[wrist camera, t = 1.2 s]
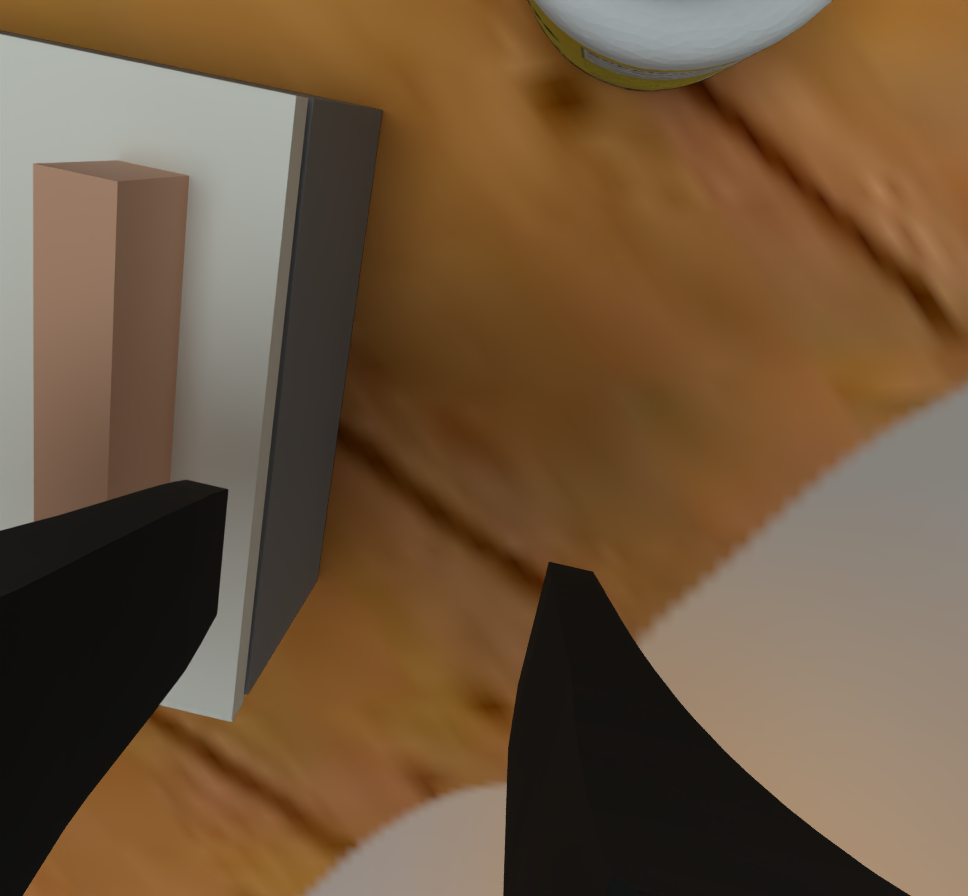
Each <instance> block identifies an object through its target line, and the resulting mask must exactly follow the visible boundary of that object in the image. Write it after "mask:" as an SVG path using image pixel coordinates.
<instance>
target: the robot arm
mask: <svg viewBox="0 0 968 896" xmlns="http://www.w3.org/2000/svg"><path fill="white" fill-rule="evenodd" d="M227 500H228V489H226V488H221V487H217V486H212V485H208V484H204V483H199V482H195V481H190V480H181V481H175V482H170V483H166V484H162V485H158V486H155V487H151V488H147V489H144V490H141V491H137V492H134V493H131V494H127V495H124V496H121V497H117V498H114V499H111V500H108V501H104V502H101V503H98V504H94V505H91V506H88V507H84V508H81V509H78V510H74V511H71V512H68V513H65V514H61V515H58V516H54V517H50V518H46V519H42V520H39V521H35V522H31V523H27V524H23V525H20V526H16V527H12V528H8V529H4V530H1V531H0V896H23V894H24V893H25V891H26V889H27V888H28V886H29V885H30V883H31V881H32V880H33V878H34V877H35V875H36V873H37V872H38V870H39V869H40V867H41V865H42V864H43V862H44V861H45V859H46V857H47V856H48V854H49V853H50V851H51V850H52V848H53V846H54V845H55V843H56V842H57V840H58V838H59V837H60V835H61V834H62V832H63V830H64V829H65V827H66V826H67V825H68V823H69V822H70V821H71V819H72V818H73V816H74V815H75V814H76V812H77V811H78V809H79V808H80V807H81V805H82V804H83V802H84V801H85V800H86V798H87V797H88V796H89V794H90V793H91V792H92V790H93V789H94V788H95V787H96V785H97V784H98V783H99V782H100V780H101V779H102V778H103V776H104V775H105V774H106V773H107V771H108V770H109V769H110V767H111V766H112V765H113V764H114V762H115V761H116V760H117V759H118V757H119V756H120V755H121V753H122V752H123V751H124V750H125V748H126V747H127V746H128V744H129V743H130V742H131V741H132V739H133V738H134V737H135V736H136V734H137V733H138V732H139V730H140V729H141V728H142V727H143V725H144V724H145V723H146V722H147V720H148V719H149V718H150V716H151V715H152V714H153V713H154V711H155V710H156V709H157V707H158V706H159V705H160V703H161V702H162V701H163V700H164V698H165V697H166V696H167V694H168V693H169V692H170V690H171V689H172V688H173V687H174V685H175V684H176V683H177V681H178V680H179V679H180V677H181V676H182V675H183V673H184V672H185V670H186V669H187V667H188V665H189V663H190V662H191V660H192V658H193V657H194V655H195V653H196V652H197V650H198V648H199V647H200V645H201V643H202V641H203V639H204V638H205V636H206V634H207V632H208V630H209V628H210V627H211V625H212V623H213V621H214V619H215V618H216V616H217V611H218V600H219V588H220V577H221V566H222V555H223V544H224V533H225V522H226V511H227ZM503 895H504V896H910V895H908V894H907V893H905V892H904V891H902V890H900V889H899V888H897V887H896V886H894V885H893V884H891V883H889V882H888V881H886V880H885V879H883V878H881V877H880V876H878V875H877V874H875V873H874V872H872V871H871V870H870V869H868V868H867V867H865V866H864V865H862V864H861V863H860V862H858V861H857V860H856V859H854V858H853V857H851V856H850V855H849V854H847V853H846V852H845V851H843V850H842V849H841V848H839V847H838V846H837V845H835V844H834V843H832V842H831V841H830V840H828V839H827V838H825V837H824V836H823V835H821V834H820V833H819V832H817V831H816V830H815V829H814V828H812V827H811V826H810V825H809V824H807V823H806V822H805V821H803V820H802V819H801V818H800V817H799V816H797V815H796V814H794V813H793V812H792V811H791V810H790V809H788V808H787V807H786V806H785V805H784V804H782V803H781V802H780V801H779V800H778V799H777V798H776V797H774V796H773V795H772V794H771V793H770V792H769V791H768V790H767V789H765V788H764V787H763V786H762V785H761V784H760V783H759V782H757V781H756V780H755V779H754V778H753V777H752V776H751V775H749V774H748V773H747V772H746V771H745V770H744V769H743V768H742V767H741V766H740V765H739V764H738V763H737V762H735V760H733V759H732V758H731V757H730V756H729V755H728V754H727V753H726V752H725V751H724V750H723V749H722V748H721V747H720V746H719V745H718V744H717V742H716V741H715V740H714V739H713V738H712V737H711V736H710V735H709V734H708V733H707V732H706V731H705V730H704V729H703V728H702V727H701V725H700V724H699V723H698V722H697V721H696V720H695V719H694V718H693V717H692V716H691V715H690V713H689V712H688V711H687V710H686V709H685V708H684V706H683V705H682V704H681V703H680V702H679V701H678V699H677V698H676V697H675V695H674V694H673V693H672V692H671V690H670V689H669V688H668V686H667V685H666V684H665V683H664V682H663V680H662V679H661V678H660V676H659V675H658V674H657V672H656V671H655V670H654V668H653V667H652V666H651V664H650V663H649V661H648V660H647V659H646V657H645V656H644V654H643V653H642V651H641V650H640V648H639V647H638V645H637V644H636V642H635V641H634V639H633V638H632V636H631V635H630V633H629V632H628V630H627V628H626V627H625V625H624V624H623V622H622V620H621V619H620V617H619V615H618V613H617V612H616V610H615V608H614V607H613V605H612V603H611V602H610V600H609V598H608V596H607V595H606V593H605V591H604V589H603V588H602V586H601V584H600V583H599V581H598V579H597V578H596V576H595V574H594V573H593V572H592V571H587V570H583V569H579V568H574V567H570V566H565V565H561V564H556V563H552V562H549V564H548V568H547V572H546V576H545V580H544V584H543V588H542V592H541V596H540V600H539V604H538V607H537V611H536V615H535V619H534V623H533V627H532V631H531V635H530V639H529V643H528V647H527V651H526V655H525V659H524V663H523V667H522V671H521V675H520V679H519V683H518V689H517V695H516V701H515V707H514V714H513V720H512V727H511V733H510V740H509V747H508V769H507V798H506V830H505V861H504V894H503Z"/></svg>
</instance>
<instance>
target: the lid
mask: <svg viewBox="0 0 968 896" xmlns="http://www.w3.org/2000/svg"><path fill="white" fill-rule="evenodd" d="M307 104H308V98H306V97H302V96H297V95H292V94H287V93H282V92H278V91H273V90H268V89H263V88H258V87H254V86H249V85H244V84H239V83H234V82H230V81H225V80H220V79H215V78H210V77H206V76H201V75H196V74H191V73H186V72H182V71H177V70H172V69H167V68H162V67H158V66H153V65H148V64H143V63H138V62H134V61H129V60H124V59H119V58H114V57H110V56H105V55H100V54H95V53H90V52H86V51H81V50H76V49H71V48H66V47H62V46H57V45H52V44H47V43H42V42H38V41H33V40H28V39H23V38H18V37H14V36H9V35H4V34H0V531H1V530H4V529H8V528H12V527H16V526H20V525H23V524H27V523H31V522H35V521H39V520H42V519H46V518H50V517H54V516H58V515H61V514H65V513H68V512H71V511H74V510H78V509H81V508H84V507H88V506H91V505H94V504H98V503H101V502H104V501H108V500H111V499H114V498H117V497H121V496H124V495H127V494H131V493H134V492H137V491H141V490H144V489H147V488H151V487H155V486H158V485H162V484H166V483H170V482H175V481H181V480H190V481H195V482H199V483H204V484H208V485H212V486H217V487H221V488H226V489H228V500H227V511H226V522H225V533H224V544H223V555H222V566H221V577H220V588H219V600H218V611H217V616H216V618H215V619H214V621H213V623H212V625H211V627H210V628H209V630H208V632H207V634H206V636H205V638H204V639H203V641H202V643H201V645H200V647H199V648H198V650H197V652H196V653H195V655H194V657H193V658H192V660H191V662H190V663H189V665H188V667H187V669H186V670H185V672H184V673H183V675H182V676H181V677H180V679H179V680H178V681H177V683H176V684H175V685H174V687H173V688H172V689H171V690H170V692H169V693H168V694H167V696H166V697H165V698H164V700H163V701H162V702H161V703H160V705H161V706H166V707H170V708H174V709H178V710H183V711H187V712H191V713H195V714H199V715H204V716H208V717H212V718H216V719H221V720H225V721H229V722H232V720H233V719H234V717H235V715H236V714H237V712H238V711H239V709H240V707H241V706H242V704H243V696H244V686H245V677H246V668H247V659H248V650H249V640H250V631H251V622H252V613H253V603H254V594H255V585H256V576H257V566H258V557H259V548H260V539H261V529H262V520H263V511H264V502H265V492H266V483H267V474H268V465H269V456H270V446H271V437H272V428H273V419H274V409H275V400H276V391H277V382H278V372H279V363H280V354H281V345H282V335H283V326H284V317H285V308H286V298H287V289H288V280H289V271H290V262H291V252H292V243H293V234H294V225H295V215H296V206H297V197H298V188H299V178H300V169H301V160H302V151H303V141H304V132H305V123H306V114H307Z"/></svg>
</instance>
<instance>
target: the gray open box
mask: <svg viewBox="0 0 968 896" xmlns="http://www.w3.org/2000/svg"><path fill="white" fill-rule="evenodd" d="M0 34H4V35H9V36H14V37H18V38H23V39H28V40H33V41H38V42H42V43H47V44H52V45H57V46H62V47H66V48H71V49H76V50H81V51H86V52H90V53H95V54H100V55H105V56H110V57H114V58H119V59H124V60H129V61H134V62H138V63H143V64H148V65H153V66H158V67H162V68H167V69H172V70H177V71H182V72H186V73H191V74H196V75H201V76H206V77H210V78H215V79H220V80H225V81H230V82H234V83H239V84H244V85H249V86H254V87H258V88H263V89H268V90H273V91H278V92H282V93H287V94H292V95H297V96H302V97H306V98H308V104H307V114H306V123H305V132H304V141H303V151H302V160H301V169H300V178H299V188H298V197H297V206H296V215H295V225H294V234H293V243H292V252H291V262H290V271H289V280H288V289H287V298H286V308H285V317H284V326H283V335H282V345H281V354H280V363H279V372H278V382H277V391H276V400H275V409H274V419H273V428H272V437H271V446H270V456H269V465H268V474H267V483H266V492H265V502H264V511H263V520H262V529H261V539H260V548H259V557H258V566H257V576H256V585H255V594H254V603H253V613H252V622H251V631H250V640H249V650H248V659H247V668H246V677H245V686H244V694H246V695H248V694H249V692H250V691H251V689H252V687H253V686H254V684H255V682H256V681H257V679H258V678H259V676H260V674H261V673H262V671H263V669H264V668H265V666H266V664H267V663H268V661H269V659H270V658H271V656H272V654H273V653H274V651H275V650H276V648H277V646H278V645H279V643H280V641H281V640H282V638H283V636H284V635H285V633H286V631H287V630H288V628H289V626H290V625H291V623H292V622H293V620H294V618H295V617H296V615H297V613H298V612H299V610H300V608H301V607H302V605H303V603H304V602H305V600H306V598H307V597H308V595H309V594H310V592H311V590H312V589H313V587H314V585H315V584H316V582H317V579H318V572H319V564H320V557H321V550H322V543H323V536H324V528H325V521H326V514H327V507H328V500H329V492H330V485H331V478H332V471H333V463H334V456H335V449H336V442H337V435H338V427H339V420H340V413H341V406H342V399H343V391H344V384H345V377H346V370H347V363H348V355H349V348H350V341H351V334H352V326H353V319H354V312H355V305H356V298H357V290H358V283H359V276H360V269H361V262H362V254H363V247H364V240H365V233H366V226H367V218H368V211H369V204H370V197H371V189H372V182H373V175H374V168H375V161H376V153H377V146H378V139H379V132H380V125H381V117H382V110H380V109H375V108H370V107H365V106H361V105H356V104H351V103H346V102H341V101H337V100H332V99H327V98H322V97H317V96H313V95H308V94H303V93H298V92H293V91H289V90H284V89H279V88H274V87H269V86H265V85H260V84H255V83H250V82H245V81H241V80H236V79H231V78H226V77H221V76H217V75H212V74H207V73H202V72H197V71H193V70H188V69H183V68H178V67H173V66H168V65H164V64H159V63H154V62H149V61H144V60H140V59H135V58H130V57H125V56H120V55H116V54H111V53H106V52H101V51H96V50H92V49H87V48H82V47H77V46H72V45H68V44H63V43H58V42H53V41H48V40H44V39H39V38H34V37H29V36H24V35H20V34H15V33H10V32H5V31H0Z"/></svg>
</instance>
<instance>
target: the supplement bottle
mask: <svg viewBox="0 0 968 896" xmlns="http://www.w3.org/2000/svg"><path fill="white" fill-rule="evenodd" d="M831 1H832V0H528V2H529V4H530V6H531V9H532V11H533V13H534V15H535V17H536V19H537V21H538V22H539V24H540V26H541V28H542V29H543V31H544V33H545V34H546V35H547V37H548V38H549V39H550V40H551V42H552V43H553V45H554V46H555V47H556V48H557V49H558V50H559V51H560V52H561V53H562V55H563V56H565V57H566V58H567V59H568V60H569V61H570V62H571V63H572V64H574V65H575V66H576V67H578V68H579V69H580V70H582V71H583V72H585V73H587V74H588V75H590V76H592V77H594V78H596V79H598V80H600V81H603V82H605V83H608V84H611V85H614V86H617V87H621V88H625V89H628V90H637V91H658V90H667V89H674V88H679V87H683V86H687V85H690V84H694V83H697V82H700V81H703V80H705V79H707V78H709V77H711V76H713V75H715V74H717V73H719V72H721V71H723V70H725V69H727V68H729V67H731V66H732V65H734V64H736V63H738V62H740V61H742V60H744V59H746V58H748V57H750V56H752V55H754V54H756V53H758V52H760V51H762V50H764V49H766V48H768V47H770V46H771V45H773V44H775V43H777V42H778V41H780V40H782V39H783V38H785V37H787V36H788V35H790V34H792V33H793V32H795V31H796V30H798V29H799V28H800V27H802V26H803V25H805V24H806V23H807V22H808V21H809V20H810V19H811V18H813V17H814V16H815V15H816V14H817V13H818V12H820V11H821V10H822V9H823V8H824V7H825V6H827V5H828V4H829V3H830V2H831Z"/></svg>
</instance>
